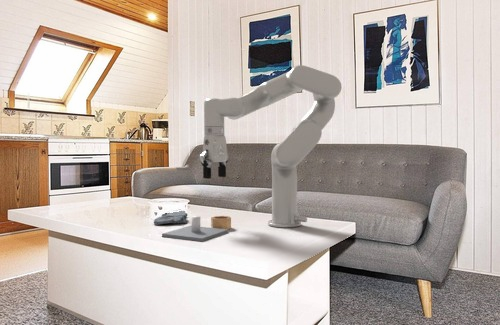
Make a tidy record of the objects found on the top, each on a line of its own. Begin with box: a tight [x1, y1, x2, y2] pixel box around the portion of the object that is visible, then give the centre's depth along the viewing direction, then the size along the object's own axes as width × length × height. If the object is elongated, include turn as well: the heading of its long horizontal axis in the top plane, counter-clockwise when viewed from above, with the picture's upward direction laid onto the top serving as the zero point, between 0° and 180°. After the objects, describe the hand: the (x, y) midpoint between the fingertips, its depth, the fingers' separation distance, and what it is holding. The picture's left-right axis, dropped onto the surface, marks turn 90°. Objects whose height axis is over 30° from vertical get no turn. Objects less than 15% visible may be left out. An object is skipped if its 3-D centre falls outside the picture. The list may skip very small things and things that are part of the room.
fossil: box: [153, 210, 188, 226], centre depth 162 cm, size 13×18×4 cm
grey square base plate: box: [161, 215, 229, 242], centre depth 136 cm, size 16×16×6 cm
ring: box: [210, 215, 232, 230], centre depth 147 cm, size 7×7×4 cm
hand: (214, 177), depth 151 cm, fingers open, 9 cm apart
